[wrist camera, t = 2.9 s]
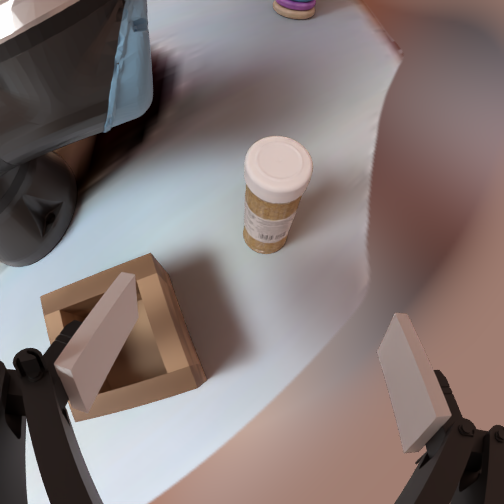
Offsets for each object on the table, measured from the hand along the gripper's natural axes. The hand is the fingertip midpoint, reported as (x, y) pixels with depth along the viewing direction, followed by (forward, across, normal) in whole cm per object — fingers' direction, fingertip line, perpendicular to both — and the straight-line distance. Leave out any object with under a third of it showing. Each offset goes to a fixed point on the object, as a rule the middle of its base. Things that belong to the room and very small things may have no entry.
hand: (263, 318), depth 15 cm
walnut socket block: (+9, -11, -13) cm, 19 cm away
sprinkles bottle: (+18, 0, -4) cm, 19 cm away
